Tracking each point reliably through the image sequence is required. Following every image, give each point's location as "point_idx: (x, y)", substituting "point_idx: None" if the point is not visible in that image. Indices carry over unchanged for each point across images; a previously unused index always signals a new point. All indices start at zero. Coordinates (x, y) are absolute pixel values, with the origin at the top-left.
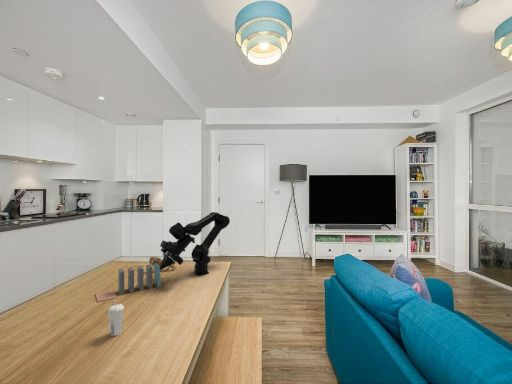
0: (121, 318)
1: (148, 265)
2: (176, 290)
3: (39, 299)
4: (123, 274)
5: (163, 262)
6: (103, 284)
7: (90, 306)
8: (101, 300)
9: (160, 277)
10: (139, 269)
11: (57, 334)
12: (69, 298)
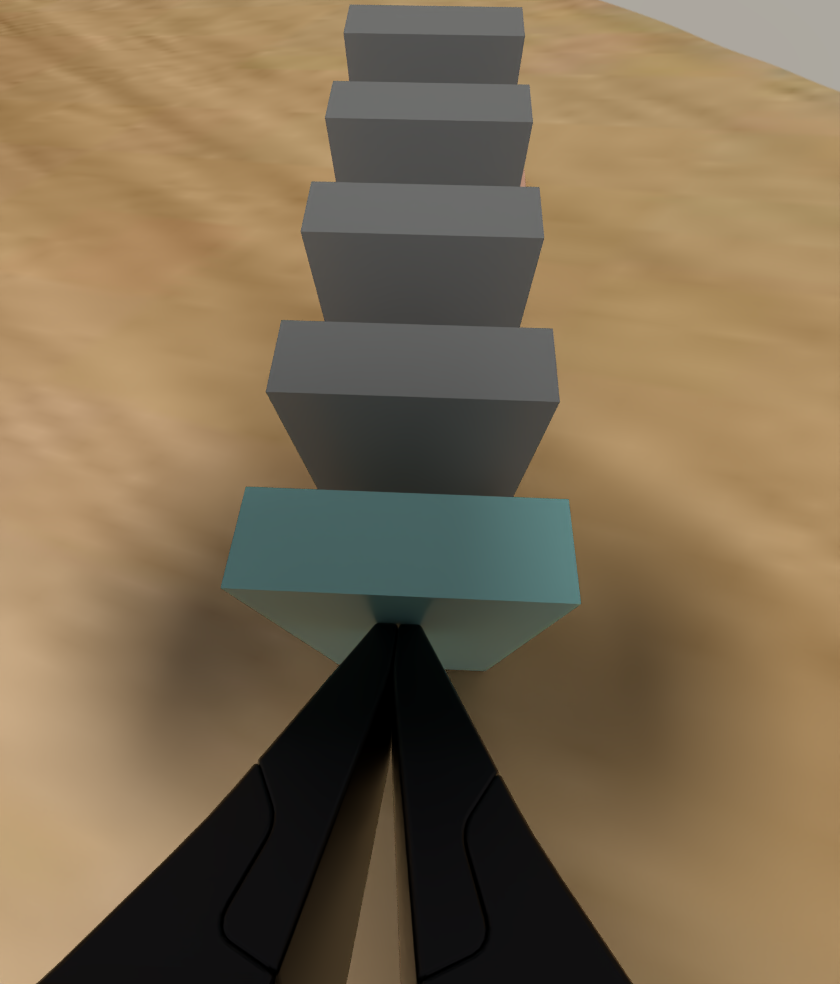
0: None
1: (484, 356)
2: (25, 800)
3: (606, 13)
4: (351, 74)
5: (273, 789)
6: (732, 234)
7: (310, 145)
8: None
9: (312, 646)
10: (348, 195)
11: (94, 52)
12: (533, 88)
